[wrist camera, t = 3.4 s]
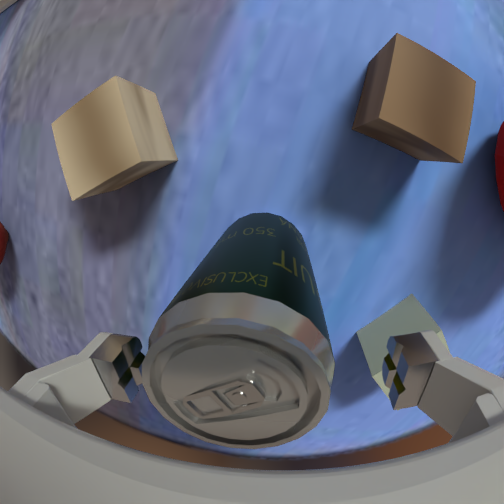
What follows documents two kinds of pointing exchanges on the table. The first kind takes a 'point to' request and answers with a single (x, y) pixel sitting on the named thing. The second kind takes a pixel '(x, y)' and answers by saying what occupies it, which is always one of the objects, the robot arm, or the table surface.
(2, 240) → the onion
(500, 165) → the tomato
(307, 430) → the beer can
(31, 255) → the table surface
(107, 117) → the beech block
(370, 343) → the sage painted block
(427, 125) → the walnut block
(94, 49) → the table surface
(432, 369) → the robot arm
